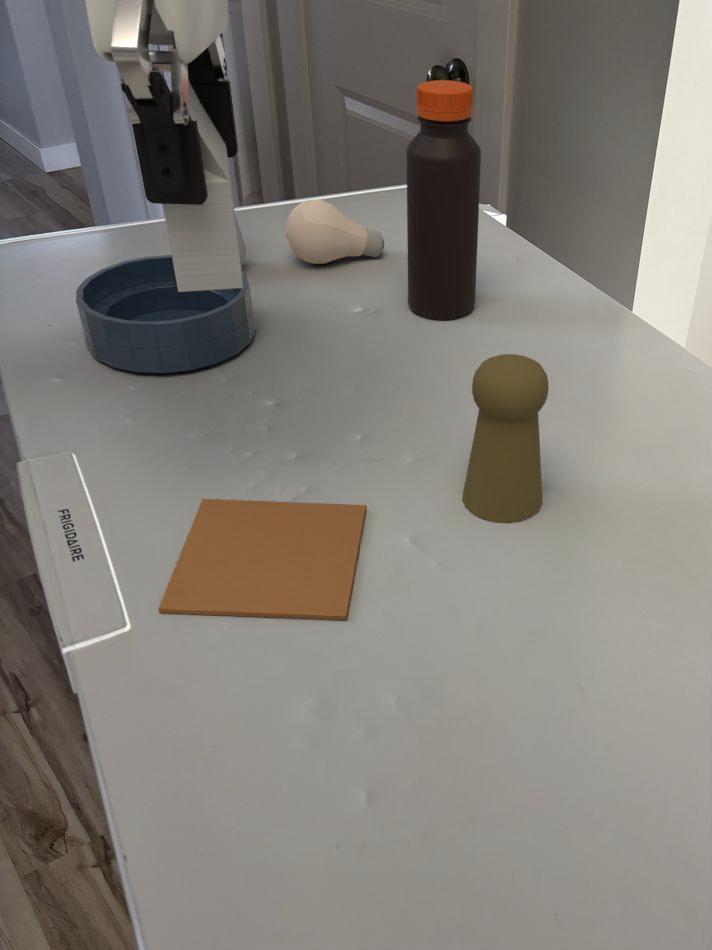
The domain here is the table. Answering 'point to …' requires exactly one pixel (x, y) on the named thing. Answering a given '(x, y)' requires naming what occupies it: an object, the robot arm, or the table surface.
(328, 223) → the light bulb
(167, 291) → the bowl
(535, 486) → the pepper shaker
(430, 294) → the bottle
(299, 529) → the mat
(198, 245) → the white milk carton
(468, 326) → the table surface
